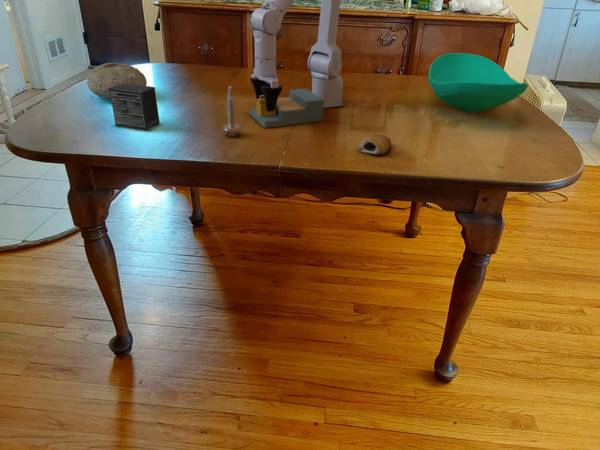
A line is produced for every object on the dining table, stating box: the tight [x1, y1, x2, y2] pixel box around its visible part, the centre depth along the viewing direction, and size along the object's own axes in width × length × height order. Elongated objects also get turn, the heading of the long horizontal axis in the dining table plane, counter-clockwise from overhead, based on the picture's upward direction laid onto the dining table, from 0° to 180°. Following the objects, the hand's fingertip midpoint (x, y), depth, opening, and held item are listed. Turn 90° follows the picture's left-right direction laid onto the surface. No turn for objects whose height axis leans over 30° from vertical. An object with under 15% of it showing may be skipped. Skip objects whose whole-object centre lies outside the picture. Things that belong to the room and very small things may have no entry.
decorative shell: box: [86, 61, 148, 99], centre depth 144 cm, size 18×18×10 cm
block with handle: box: [255, 95, 276, 117], centre depth 130 cm, size 5×4×6 cm
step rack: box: [250, 88, 324, 129], centre depth 133 cm, size 18×12×6 cm, turn 114°
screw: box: [222, 85, 242, 138], centre depth 118 cm, size 13×5×5 cm
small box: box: [108, 83, 161, 132], centre depth 123 cm, size 11×6×10 cm, turn 71°
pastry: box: [358, 134, 392, 156], centre depth 115 cm, size 9×7×4 cm
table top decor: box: [428, 52, 529, 114], centre depth 143 cm, size 40×28×13 cm
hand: (265, 107), depth 130 cm, fingers open, 7 cm apart
